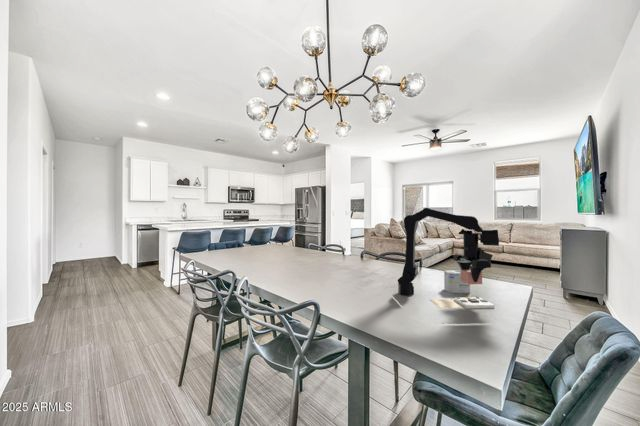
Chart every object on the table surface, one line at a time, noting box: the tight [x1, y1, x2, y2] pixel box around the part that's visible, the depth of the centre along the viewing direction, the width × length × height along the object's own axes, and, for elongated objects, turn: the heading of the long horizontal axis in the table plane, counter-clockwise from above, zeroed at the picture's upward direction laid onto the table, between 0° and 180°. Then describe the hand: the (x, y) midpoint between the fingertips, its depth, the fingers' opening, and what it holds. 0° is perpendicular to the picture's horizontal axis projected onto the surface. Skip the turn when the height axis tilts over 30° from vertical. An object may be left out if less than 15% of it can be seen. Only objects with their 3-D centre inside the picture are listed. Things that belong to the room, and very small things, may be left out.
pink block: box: [460, 269, 483, 285], centre depth 117 cm, size 6×6×5 cm
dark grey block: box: [468, 299, 479, 303], centre depth 118 cm, size 3×3×2 cm
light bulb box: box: [443, 269, 471, 294], centre depth 137 cm, size 11×7×11 cm, turn 84°
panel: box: [453, 296, 496, 309], centre depth 118 cm, size 12×10×2 cm
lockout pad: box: [429, 299, 464, 309], centre depth 118 cm, size 10×10×1 cm
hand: (471, 280), depth 117 cm, fingers closed on pink block, 6 cm apart
